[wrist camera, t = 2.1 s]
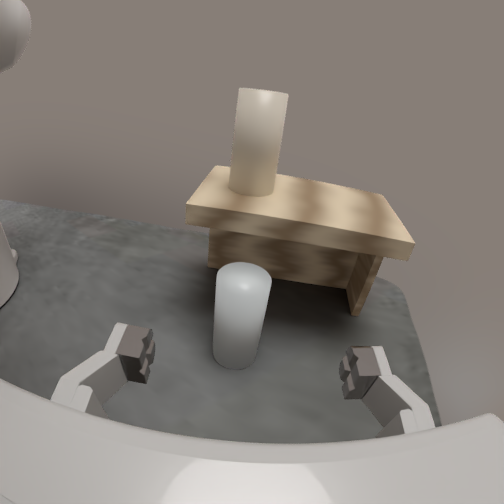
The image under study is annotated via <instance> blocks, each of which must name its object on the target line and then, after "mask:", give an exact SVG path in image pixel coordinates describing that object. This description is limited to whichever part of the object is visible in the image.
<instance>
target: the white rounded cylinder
mask: <svg viewBox="0 0 504 504" xmlns="http://www.w3.org/2000/svg"><path fill="white" fill-rule="evenodd" d="M288 96H289V95H288V94H286V93H280V92H275V91H268V90H260V89H251V88H250V89H249V88H239V93H238V102H237V110H236V119H235V129H234V137H233V147H232V156H231V165H230V175H229V185H228V187H229V188H230V189H231V190H232V191H234V192H236V193H238V194H241V195H246V196H253V197H262V196H268V195H270V194H272V193H273V191H274V185H275V178H276V172H277V166H278V160H279V153H280V147H281V140H282V134H283V128H284V121H285V115H286V109H287V102H288Z"/></svg>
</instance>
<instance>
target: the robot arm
mask: <svg viewBox="0 0 504 504" xmlns="http://www.w3.org/2000/svg"><path fill="white" fill-rule="evenodd" d="M30 33H31V17H30V13H29V10H28V8H27V7H26V5H25V4H24V3H23V2H22V1H21V0H0V73H1V72H4V71H6V70H8V69H10V68H12V67H13V66H14V65H15V64H16V63H17V61H18V60H19V59H20V57H21V56H22V54H23V52H24V50H25V48H26V46H27V44H28V41H29V38H30ZM17 260H18V254H17V252H16V250H14V249H10V246H9V243H8V241H7V238H6V235H5V233H4V230H3V227H2V224H1V222H0V307H1V306H2V305H3V304H4V303H5V302H6V301H7V300H8V299H9V298H10V296H11V295H12V293H13V292H14V290H15V288H16V286H17V283H18V280H19V272H18V269H17V266H16V263H17ZM152 337H153V332H152V329H149V328H143V327H138V326H133V325H128V324H123V323H117V324H116V325H115V326H114V329H113V331H112V333H111V335H110V337H109V339H108V342H107V344H106V346H105V348H104V351H99V352H97V353H96V354H94V355H93V356H91V357H90V358H89V359H87V360H86V361H84V362H83V363H81V364H80V365H78V366H77V367H75V368H74V369H72V370H71V371H69V372H68V373H66V374H65V375H63V376H62V377H61V378H60V380H59V382H58V384H57V387H56V389H55V391H54V393H53V396H52V398H51V400H48V399H45V398H43V397H40V396H38V395H35V394H33V393H31V392H28V391H26V390H24V389H22V388H19V387H17V386H15V385H13V384H11V383H9V382H6V381H4V380H2V379H0V504H504V422H503V421H502V420H500V419H499V418H498V417H497V416H495V415H494V414H492V413H487V414H484V415H481V416H477V417H474V418H471V419H467V420H464V421H460V422H457V423H453V424H449V425H445V426H440V427H436V428H435V425H434V422H433V419H432V415H431V412H430V409H429V406H428V405H427V404H426V403H425V402H424V401H423V400H422V399H421V398H420V397H418V396H417V395H416V394H415V393H414V392H413V391H412V390H411V389H410V388H409V387H408V386H406V385H405V384H404V383H403V382H402V381H401V380H400V379H399V378H398V377H397V376H396V375H392V373H391V370H390V367H389V364H388V361H387V358H386V355H385V352H384V350H383V348H382V346H350V347H348V348H347V350H346V355H347V356H345V357H344V358H342V360H341V362H340V367H339V375H340V379H341V380H342V381H343V382H344V384H343V386H342V391H343V396H344V399H362V401H363V402H364V404H365V405H366V406H367V407H368V409H369V410H370V411H371V412H372V414H373V415H374V416H375V417H376V419H377V420H378V421H379V422H380V424H381V425H382V426H383V427H384V428H383V429H382V430H381V431H380V432H379V433H378V434H377V435H376V438H374V439H366V440H356V441H345V442H330V443H305V444H276V443H251V442H236V441H224V440H215V439H206V438H198V437H191V436H184V435H178V434H172V433H166V432H161V431H156V430H151V429H146V428H141V427H137V426H132V425H128V424H124V423H120V422H116V421H113V420H109V419H108V416H107V414H106V413H105V411H104V409H103V408H102V405H103V404H104V403H105V402H106V401H107V400H108V399H109V398H111V397H112V396H113V395H114V394H115V393H116V392H117V391H118V390H119V389H120V388H121V387H122V386H124V385H125V384H126V383H127V382H128V381H133V382H138V383H144V384H147V381H148V377H149V374H150V368H149V365H151V364H152V363H153V360H154V356H155V342H154V341H153V340H152ZM127 380H128V381H127Z"/></svg>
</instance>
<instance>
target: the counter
mask: <svg viewBox="0 0 504 504" xmlns="http://www.w3.org/2000/svg"><path fill="white" fill-rule="evenodd" d="M229 175H230V167H225V166H217V165H216V166H215V167H214V168H213V170H212V171H211V172H210V173H209V175H208V176H207V177H206V178H205V180H204V181H203V182H202V183H201V185H200V186H199V187H198V189H197V190H196V191H195V193H194V194H193V195H192V197H191V198H190V199H189V200H188V202H187V203H186V222H185V223H186V224H188V225H194V226H201V227H208V228H210V233H209V252H208V267H210V268H216V269H221V268H222V267H223V266H225V265H227V264H230V263H235V262H246V263H251V264H255V265H257V266H260V267H261V268H263V269H264V270H266V271H267V272H268V273H269V275H270V277H271V278H277V279H283V280H290V281H296V282H302V283H309V284H316V285H322V286H329V287H336V288H342V289H346V292H347V297H348V301H349V306H350V311H351V315H353V316H358V315H359V313H360V311H361V309H362V307H363V305H364V302H365V300H366V298H367V296H368V293H369V291H370V289H371V286H372V284H373V282H374V279H375V277H376V275H377V272H378V270H379V267H380V265H381V262H382V260H383V257H387V258H393V259H399V260H404V261H408V260H409V257H410V255H411V253H412V250H413V248H414V246H415V242H414V241H413V239H412V238H411V236H410V234H409V233H408V231H407V230H406V228H405V227H404V225H403V224H402V222H401V221H400V219H399V218H398V216H397V215H396V214H395V212H394V211H393V210H392V208H391V206H390V205H389V204H388V202H387V201H386V199H385V198H384V197H383V195H379V194H376V193H371V192H367V191H362V190H358V189H353V188H348V187H344V186H339V185H334V184H329V183H324V182H318V181H313V180H308V179H302V178H297V177H291V176H285V175H280V174H276V178H275V185H274V191H273V193H272V194H270V195H268V196H262V197H253V196H246V195H241V194H238V193H236V192H234V191H232V190H231V189H230V188H229V187H228V185H229Z"/></svg>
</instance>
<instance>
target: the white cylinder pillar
mask: <svg viewBox="0 0 504 504" xmlns="http://www.w3.org/2000/svg"><path fill="white" fill-rule="evenodd" d="M271 283H272V280H271V277H270V275H269V273H268V272H267V271H266V270H264V269H263V268H261V267H260V266H257V265H255V264H251V263H246V262H235V263H230V264H227V265H225V266H223V267H222V268H221V269H220V270H219V271H218V273H217V279H216V295H215V312H214V332H213V356H214V358H215V360H216V361H217V362H218V363H219V364H220V365H221V366H223V367H225V368H228V369H233V370H238V369H244V368H246V367H248V366H250V365H251V364H252V363H253V362H254V360H255V358H256V354H257V349H258V345H259V340H260V335H261V331H262V326H263V321H264V317H265V312H266V307H267V302H268V297H269V293H270V288H271Z"/></svg>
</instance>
